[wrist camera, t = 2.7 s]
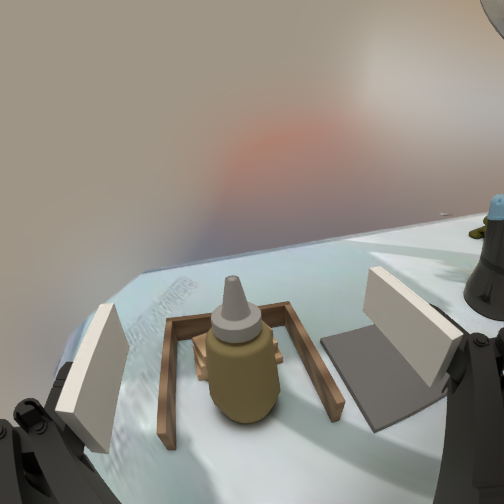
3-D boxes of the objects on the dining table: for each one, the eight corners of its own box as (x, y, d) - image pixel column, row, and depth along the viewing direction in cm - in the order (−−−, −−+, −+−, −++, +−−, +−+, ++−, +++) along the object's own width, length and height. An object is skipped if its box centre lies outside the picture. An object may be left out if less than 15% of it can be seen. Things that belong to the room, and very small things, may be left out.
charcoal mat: (471, 379, 27) (473, 375, 26) (373, 432, 24) (375, 429, 24) (408, 316, 43) (409, 313, 43) (320, 342, 40) (320, 338, 40)
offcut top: (272, 340, 37) (272, 329, 36) (206, 368, 33) (204, 357, 32) (256, 325, 41) (255, 314, 40) (194, 348, 36) (191, 337, 36)
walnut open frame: (339, 419, 27) (345, 401, 25) (167, 450, 24) (156, 433, 22) (288, 320, 46) (289, 301, 45) (171, 337, 43) (166, 318, 42)
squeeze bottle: (283, 384, 33) (283, 259, 26) (276, 435, 26) (275, 307, 19) (223, 379, 35) (202, 258, 28) (207, 426, 27) (169, 301, 20)
